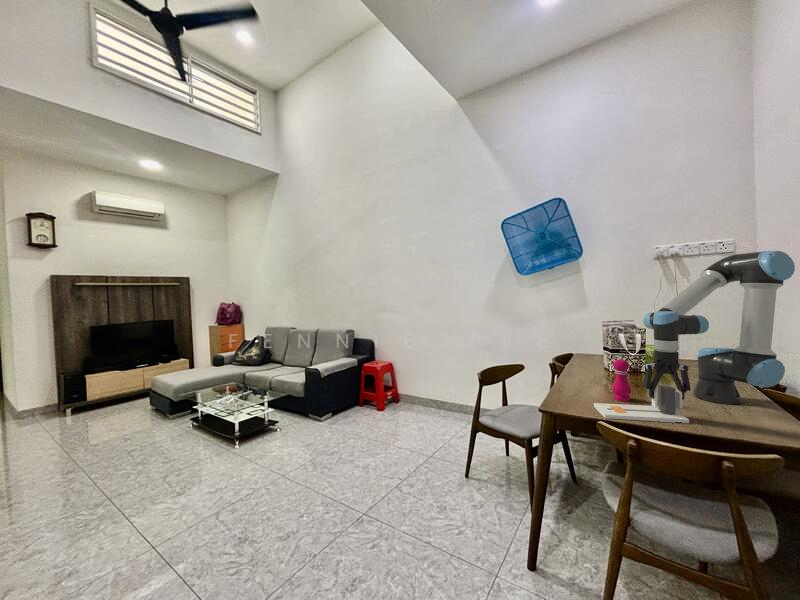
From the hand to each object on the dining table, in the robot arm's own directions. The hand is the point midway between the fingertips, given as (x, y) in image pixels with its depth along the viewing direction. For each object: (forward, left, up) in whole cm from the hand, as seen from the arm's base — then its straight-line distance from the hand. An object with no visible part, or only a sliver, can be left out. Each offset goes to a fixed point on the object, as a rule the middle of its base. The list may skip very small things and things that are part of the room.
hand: (666, 406), depth 125 cm
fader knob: (0, 0, -2) cm, 2 cm away
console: (+10, 0, -4) cm, 11 cm away
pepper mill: (+9, -18, -4) cm, 20 cm away
